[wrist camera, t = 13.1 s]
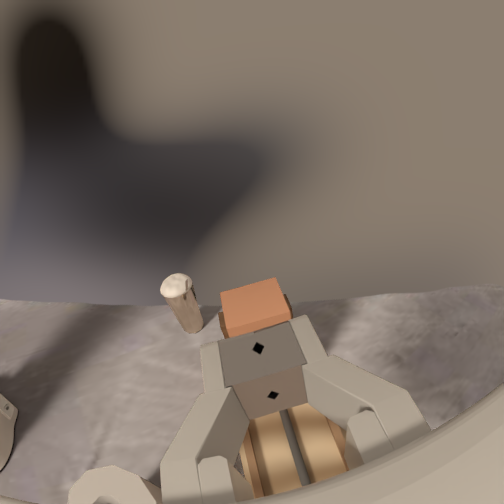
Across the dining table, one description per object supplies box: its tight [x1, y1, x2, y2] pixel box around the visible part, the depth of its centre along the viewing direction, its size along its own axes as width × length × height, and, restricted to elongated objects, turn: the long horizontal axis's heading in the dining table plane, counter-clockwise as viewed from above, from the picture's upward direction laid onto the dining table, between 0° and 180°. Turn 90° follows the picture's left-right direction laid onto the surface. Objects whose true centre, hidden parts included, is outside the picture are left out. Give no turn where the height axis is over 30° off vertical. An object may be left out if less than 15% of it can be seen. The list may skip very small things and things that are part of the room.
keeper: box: [220, 277, 291, 338], centre depth 31 cm, size 5×6×12 cm
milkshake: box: [160, 273, 204, 334], centre depth 43 cm, size 4×5×10 cm
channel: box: [218, 294, 349, 499], centre depth 27 cm, size 27×11×8 cm, turn 11°
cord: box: [279, 409, 311, 486], centre depth 27 cm, size 24×1×1 cm, turn 11°
